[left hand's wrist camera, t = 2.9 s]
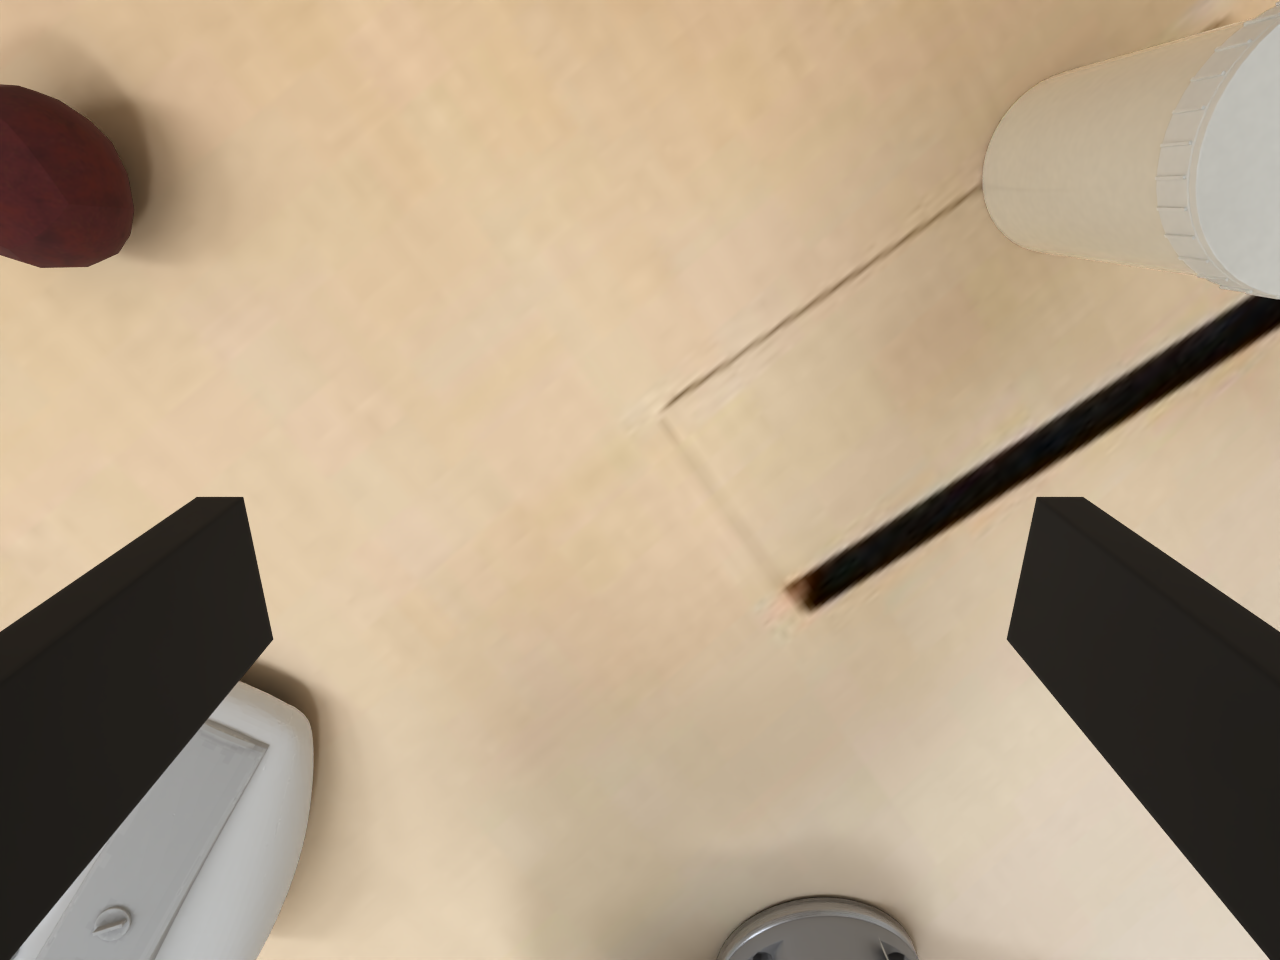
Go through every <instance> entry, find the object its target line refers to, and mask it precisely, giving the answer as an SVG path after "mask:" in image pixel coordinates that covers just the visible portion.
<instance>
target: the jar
mask: <svg viewBox="0 0 1280 960" xmlns="http://www.w3.org/2000/svg"><path fill="white" fill-rule="evenodd" d="M1255 18H1256V17H1255ZM1252 19H1254V18H1251V19H1248V20H1244V21H1241V22H1237V23H1234V24H1230V25H1227V26H1223V27H1220V28H1216V29H1213V30H1209V31H1206V32H1202V33H1199V34H1195V35H1192V36H1188V37H1185V38H1181V39H1178V40H1174V41H1171V42H1167V43H1164V44H1160V45H1157V46H1153V47H1150V48H1146V49H1142V50H1139V51H1135V52H1132V53H1128V54H1125V55H1121V56H1118V57H1114V58H1111V59H1107V60H1104V61H1100V62H1097V63H1093V64H1090V65H1086V66H1083V67H1079V68H1076V69H1072V70H1069V71H1065V72H1062V73H1059V74H1057V75H1054V76H1051V77H1049V78H1047V79H1045V80H1043V81H1041V82H1040V83H1038V84H1037V85H1035V86H1034V87H1032V88H1031V89H1029V90H1028V91H1027V92H1026V93H1025V94H1023V95H1022V96H1021V97H1020V98H1019V99H1018V100H1017V101H1016V102H1015V103H1014V104H1013V105H1012V106H1011V107H1010V108H1009V110H1008V111H1007V112H1006V114H1005V115H1004V116H1003V118H1002V119H1001V121H1000V123H999V124H998V126H997V128H996V129H995V131H994V134H993V136H992V138H991V140H990V143H989V146H988V149H987V152H986V155H985V160H984V165H983V175H982V184H983V194H984V200H985V203H986V207H987V210H988V212H989V214H990V216H991V219H992V220H993V222H994V223H995V225H996V226H997V228H998V229H999V230H1000V231H1001V232H1002V234H1003V235H1004V236H1005V237H1007V238H1008V239H1009V240H1010V241H1012V242H1013V243H1015V244H1017V245H1018V246H1020V247H1022V248H1025V249H1028V250H1030V251H1035V252H1039V253H1045V254H1052V255H1059V256H1065V257H1072V258H1079V259H1085V260H1092V261H1099V262H1105V263H1112V264H1119V265H1126V266H1132V267H1139V268H1146V269H1152V270H1159V271H1166V272H1172V273H1179V274H1186V275H1192V276H1196V275H1197V273H1196V272H1195V271H1193V270H1192V269H1191V268H1190V267H1189V266H1187V265H1186V264H1185V263H1184V261H1182V260H1179V259H1178V257H1179V256H1178V254H1177V253H1176V252H1175V250H1174V249H1173V247H1172V245H1171V244H1170V242H1169V240H1168V239H1167V238H1165V236H1164V235H1165V231H1164V229H1163V226H1162V223H1161V219H1160V215H1159V211H1157V209H1156V207H1158V206H1157V194H1156V180H1155V177H1156V176H1157V167H1158V161H1159V155H1160V150H1161V147H1160V145H1161V144H1162V143H1163V139H1164V136H1165V132H1166V130H1167V127H1168V125H1169V122H1170V120H1171V117H1172V115H1173V114H1172V111H1173V110H1175V108H1176V107H1177V105H1178V103H1179V101H1180V99H1181V97H1182V95H1183V93H1184V92H1185V90H1186V89H1187V87H1188V86H1189V84H1190V83H1191V81H1190V80H1191V78H1192V77H1195V75H1196V74H1197V72H1198V71H1199V70H1200V69H1201V67H1202V66H1203V65H1204V64H1205V63H1206V61H1207V60H1208V59H1209V58H1210V57H1211V55H1212V54H1213V53H1214V52H1215V50H1214V49H1215V48H1216V47H1219V46H1221V45H1222V44H1223V43H1224V42H1225V41H1226V40H1227V39H1228V38H1230V37H1231V36H1232V35H1233V34H1234V33H1236V32H1237V31H1238V30H1239V29H1241V28H1242V27H1243V26H1244V25H1243V23H1245V22H1246V21H1249V20H1252Z"/></svg>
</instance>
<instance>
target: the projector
mask: <svg viewBox="0 0 1280 960" xmlns="http://www.w3.org/2000/svg"><path fill="white" fill-rule="evenodd" d="M313 760H314V750H313V737H312V730H311V726H310V723H309V721H308V719H307V718H306V716H305V715H304V714H303V713H302V712H301V711H299V710H298V709H297V708H295V707H294V706H292V705H289V704H287V703H285V702H283V701H282V700H280V699H278V698H276V697H274V696H272V695H270V694H268V693H266V692H264V691H261V690H259V689H257V688H255V687H252V686H250V685H248V684H245V683H243V682H240V681H239V682H238V683H237V684H236V685H235V686H234V688H233V689H232V690H231V691H230V693H229V694H228V695H227V696H226V697H225V699H224V700H223V701H222V702H221V704H220V705H219V706H218V707H217V708H216V710H215V711H214V712H213V713H212V714H211V716H210V717H209V718H208V719H207V721H206V722H205V723H204V724H203V725H202V727H201V728H200V729H199V730H198V732H197V733H196V734H195V735H194V736H193V738H192V739H191V740H190V741H189V742H188V744H187V745H186V746H185V747H184V749H183V750H182V751H181V752H180V753H179V755H178V756H177V757H176V758H175V760H174V761H173V762H172V763H171V764H170V766H169V767H168V768H167V769H166V770H165V772H164V773H163V774H162V775H161V777H160V778H159V779H158V780H157V781H156V783H155V784H154V785H153V786H152V787H151V789H150V790H149V791H148V792H147V794H146V795H145V796H144V797H143V798H142V800H141V801H140V802H139V803H138V805H137V806H136V807H135V808H134V809H133V811H132V812H131V813H130V814H129V815H128V817H127V818H126V819H125V820H124V822H123V823H122V824H121V825H120V826H119V828H118V829H117V830H116V831H115V833H114V834H113V835H112V836H111V837H110V839H109V840H108V841H107V842H106V843H105V845H104V846H103V847H102V848H101V850H100V851H99V852H98V853H97V854H96V856H95V857H94V858H93V859H92V861H91V862H90V863H89V864H88V865H87V867H86V868H85V869H84V870H83V871H82V873H81V874H80V875H79V876H78V878H77V879H76V880H75V881H74V882H73V884H72V885H71V886H70V887H69V889H68V890H67V891H66V892H65V893H64V895H63V896H62V897H61V898H60V899H59V901H58V902H57V903H56V904H55V906H54V907H53V908H52V909H51V910H50V912H49V913H48V914H47V915H46V917H45V918H44V919H43V920H42V921H41V923H40V924H39V925H38V926H37V927H36V929H35V930H34V931H33V932H32V934H31V935H30V936H29V937H28V938H27V940H26V941H25V942H24V943H23V944H22V946H21V947H20V948H19V949H18V951H17V952H16V953H15V954H14V955H13V957H12V958H11V959H10V960H256V959H257V957H258V955H259V953H260V952H261V950H262V948H263V946H264V944H265V942H266V940H267V938H268V936H269V934H270V932H271V930H272V928H273V926H274V924H275V922H276V919H277V917H278V915H279V913H280V910H281V908H282V906H283V903H284V901H285V898H286V896H287V894H288V891H289V888H290V885H291V882H292V880H293V877H294V874H295V871H296V868H297V865H298V861H299V858H300V854H301V851H302V847H303V843H304V838H305V834H306V829H307V824H308V818H309V811H310V804H311V794H312V784H313Z"/></svg>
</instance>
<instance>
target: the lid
mask: <svg viewBox="0 0 1280 960" xmlns="http://www.w3.org/2000/svg"><path fill="white" fill-rule="evenodd" d="M1243 25H1244V26H1243V27H1242V28H1241V29H1239V30H1238V31H1237V32H1236V33H1234V34H1233V35H1232V36H1231V37H1230V38H1228V39H1227V40H1226V41H1225V42H1224V43H1223V44H1222V45H1221V46H1219V47H1216V48H1215V49H1214V50H1215V52H1214V53H1213V54H1212V55H1211V57H1210V58H1209V59H1208V60H1207V61H1206V63H1205V64H1204V65H1203V66H1202V67H1201V69H1200V70H1199V71H1198V72H1197V74H1196V75H1195V77H1192V78H1191V80H1190V81H1191V83H1190V84H1189V86H1188V87H1187V89H1186V90H1185V92H1184V93H1183V95H1182V97H1181V99H1180V101H1179V103H1178V105H1177V107H1176V108H1175V110H1173V111H1172V114H1173V115H1172V117H1171V120H1170V122H1169V125H1168V127H1167V130H1166V132H1165V136H1164V139H1163V143H1162V144H1161V145H1160V147H1161V150H1160V155H1159V161H1158V167H1157V176H1156V177H1155V180H1156V194H1157V206H1158V207H1156V209H1157V211H1159V215H1160V219H1161V223H1162V226H1163V229H1164V231H1165V235H1164V236H1165V238H1167V239H1168V240H1169V242H1170V244H1171V245H1172V247H1173V249H1174V250H1175V252H1176V253H1177V254H1178V256H1179V257H1178V259H1179V260H1182V261H1184V263H1185V264H1186V265H1187V266H1189V267H1190V268H1191V269H1192V270H1193V271H1195V272H1196V273H1197V275H1196V276H1197V277H1200V278H1205V279H1207V280H1209V281H1210V282H1213V283H1215V284H1218V285H1220V287H1219V288H1221V289H1226V290H1232V291H1238V292H1244V293H1246V294H1250V295H1256V296H1262V297H1268V298H1274V299H1280V1H1279V2H1277V3H1276V6H1275V7H1273V8H1271V9H1269V10H1267V11H1265V12H1264V13H1262V14H1261V15H1259V16H1257V17H1256V18H1254V19H1252V20H1249V21H1246V22H1245V23H1243Z"/></svg>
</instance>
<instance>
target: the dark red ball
mask: <svg viewBox="0 0 1280 960" xmlns="http://www.w3.org/2000/svg"><path fill="white" fill-rule="evenodd" d="M133 214H134V206H133V201H132V195H131V190H130V184H129V179H128V174H127V172H126V170H125V168H124V166H123V164H122V162H121V160H120V158H119V156H118V154H117V152H116V150H115V148H114V146H113V144H112V142H111V141H110V140H109V139H108V138H107V137H106V136H105V135H104V134H103V133H102V132H101V131H100V130H99V129H98V128H97V127H96V126H95V125H94V124H93V123H92V122H91V121H89V120H88V119H86V118H85V117H83V116H82V115H81V114H79V113H78V112H76V111H75V110H73V109H72V108H70V107H69V106H67V105H66V104H64V103H63V102H61V101H60V100H57V99H55V98H52V97H49V96H47V95H44V94H42V93H39V92H36V91H33V90H30V89H27V88H24V87H21V86H15V85H0V255H2V256H5V257H8V258H11V259H15V260H18V261H21V262H24V263H27V264H31V265H34V266H37V267H40V268H55V267H88V266H91V265H93V264H96V263H98V262H100V261H102V260H105V259H107V258H109V257H111V256H113V255H115V254H118V253H119V251H120V250H121V248H122V247H123V245H124V244H125V242H126V241H127V239H128V238H129V236H130V233H131V227H132V221H133Z"/></svg>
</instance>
